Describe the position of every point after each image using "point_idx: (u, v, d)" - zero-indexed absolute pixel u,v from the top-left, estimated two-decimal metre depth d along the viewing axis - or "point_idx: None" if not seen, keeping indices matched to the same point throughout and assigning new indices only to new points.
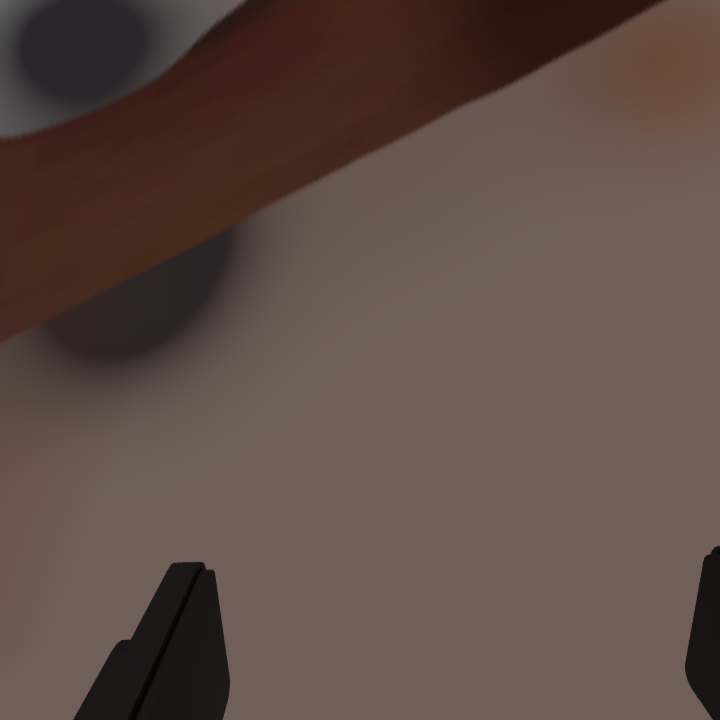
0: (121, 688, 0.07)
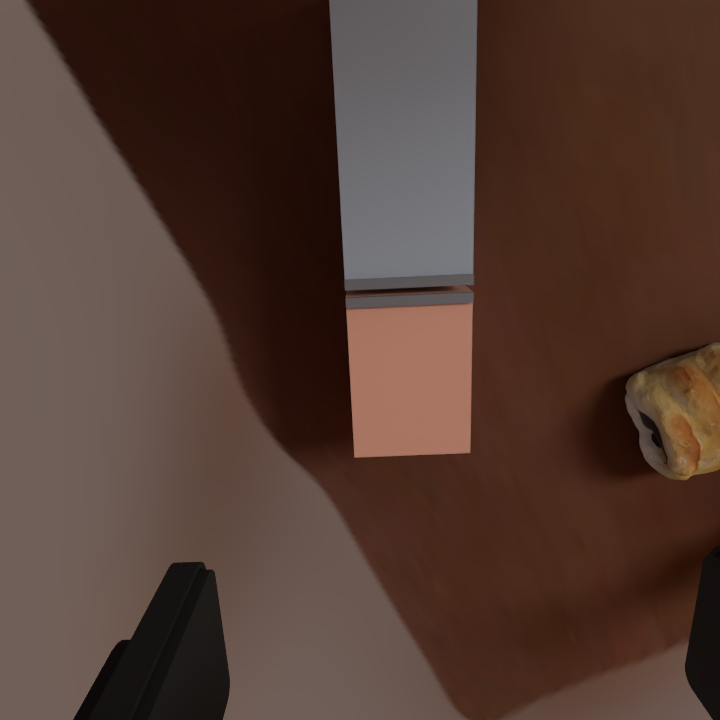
0: (121, 688, 0.07)
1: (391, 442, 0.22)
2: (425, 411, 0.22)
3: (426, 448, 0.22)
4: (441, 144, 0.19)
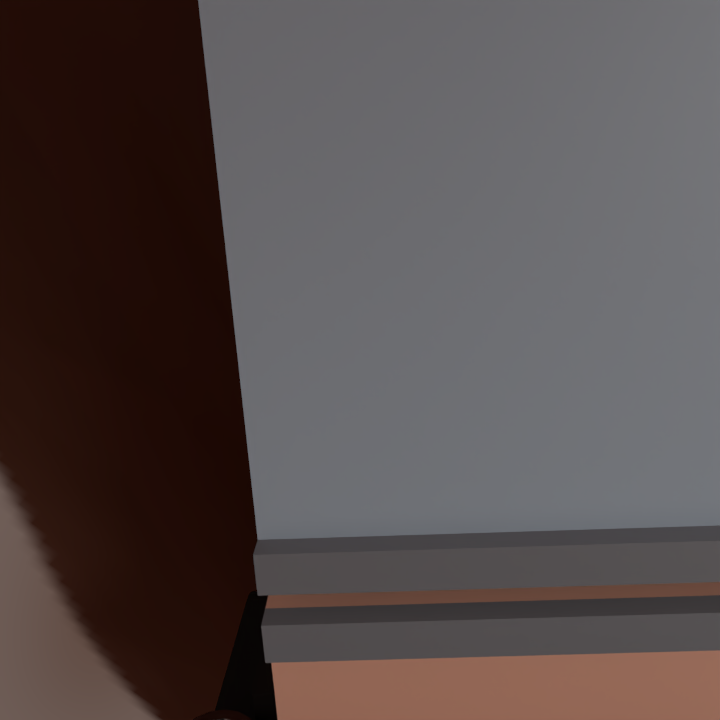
0: None
1: None
2: None
3: None
4: None
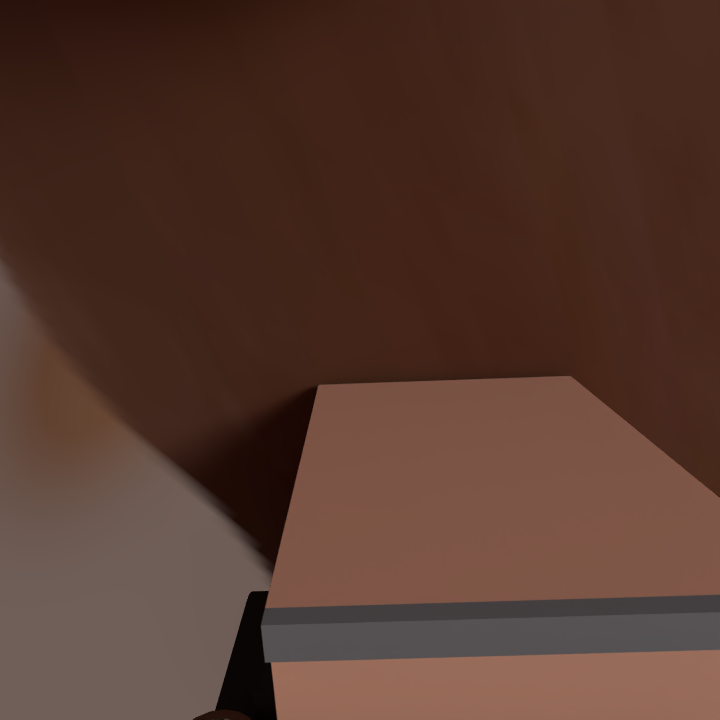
0: None
1: None
2: None
3: None
4: None
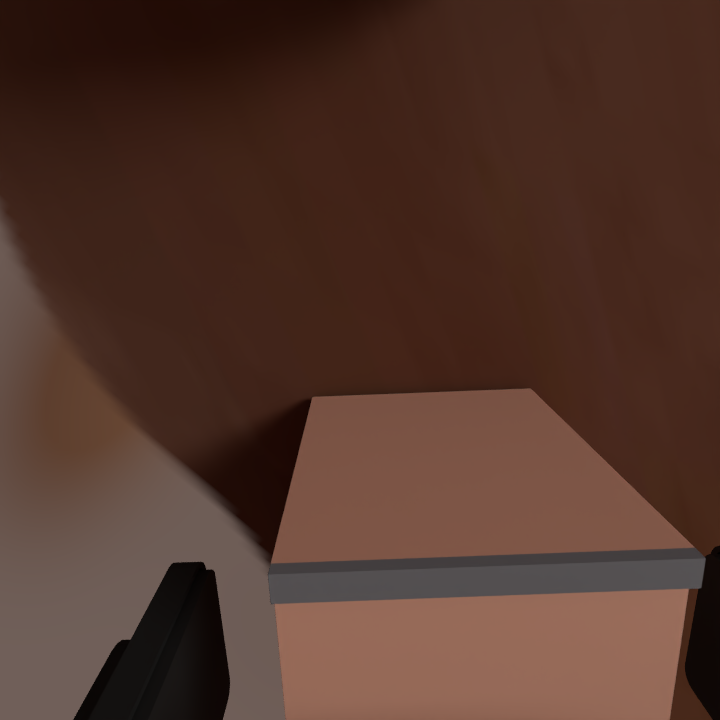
0: (121, 688, 0.07)
1: None
2: None
3: None
4: None
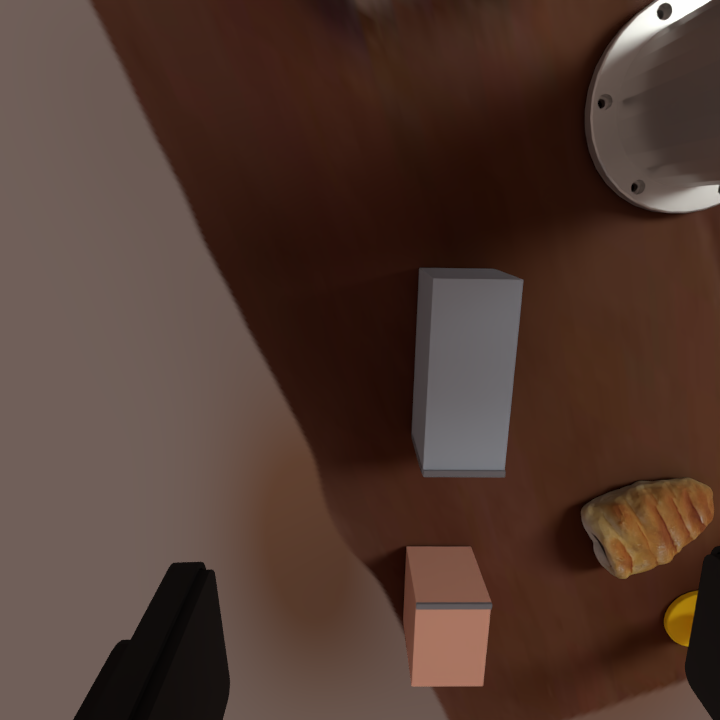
0: (121, 688, 0.07)
1: (435, 679, 0.36)
2: (457, 662, 0.36)
3: (456, 682, 0.36)
4: (491, 396, 0.31)
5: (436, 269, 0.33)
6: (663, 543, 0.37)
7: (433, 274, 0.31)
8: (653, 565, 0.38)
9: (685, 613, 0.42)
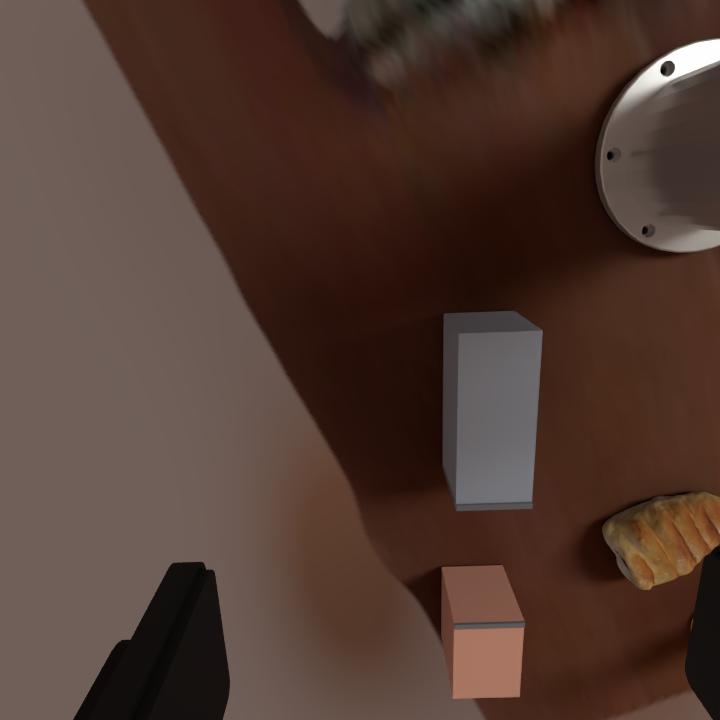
0: (121, 688, 0.07)
1: (474, 691, 0.39)
2: (494, 676, 0.39)
3: (494, 694, 0.39)
4: (517, 436, 0.33)
5: (460, 316, 0.36)
6: (682, 556, 0.39)
7: (458, 325, 0.33)
8: (674, 576, 0.40)
9: None
